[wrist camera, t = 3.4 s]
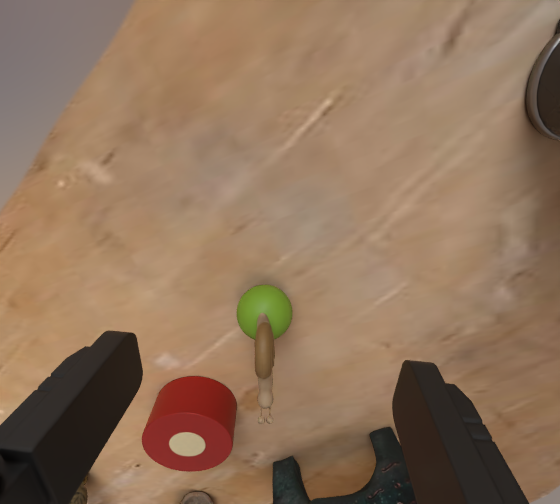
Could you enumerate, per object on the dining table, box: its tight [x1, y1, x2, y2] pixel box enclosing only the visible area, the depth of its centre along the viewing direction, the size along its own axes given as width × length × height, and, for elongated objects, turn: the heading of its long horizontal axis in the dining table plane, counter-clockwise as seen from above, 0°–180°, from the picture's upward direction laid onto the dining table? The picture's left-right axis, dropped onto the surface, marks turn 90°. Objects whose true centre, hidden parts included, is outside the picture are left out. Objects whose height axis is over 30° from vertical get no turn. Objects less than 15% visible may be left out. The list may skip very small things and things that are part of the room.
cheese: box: [142, 376, 237, 471], centre depth 37 cm, size 10×10×5 cm
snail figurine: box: [237, 285, 292, 424], centre depth 27 cm, size 5×6×12 cm
